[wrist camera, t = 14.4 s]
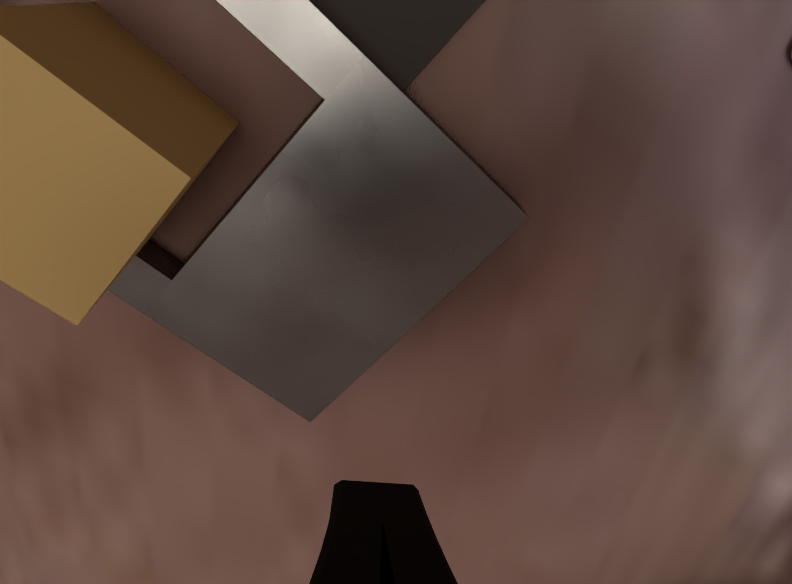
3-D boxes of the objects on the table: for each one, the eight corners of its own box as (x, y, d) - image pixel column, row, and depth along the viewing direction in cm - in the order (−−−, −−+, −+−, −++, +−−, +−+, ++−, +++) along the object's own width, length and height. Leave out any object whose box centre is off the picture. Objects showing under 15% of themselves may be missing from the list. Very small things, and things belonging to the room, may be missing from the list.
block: (240, 121, 16) (191, 178, 11) (153, 233, 18) (77, 325, 13) (94, 2, 15) (-36, 8, 10) (11, 134, 16) (-138, 197, 11)
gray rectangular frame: (519, 204, 18) (547, 242, 15) (312, 400, 21) (305, 459, 18) (72, -238, 13) (-4, -299, 10) (-120, 110, 16) (-218, 134, 13)
